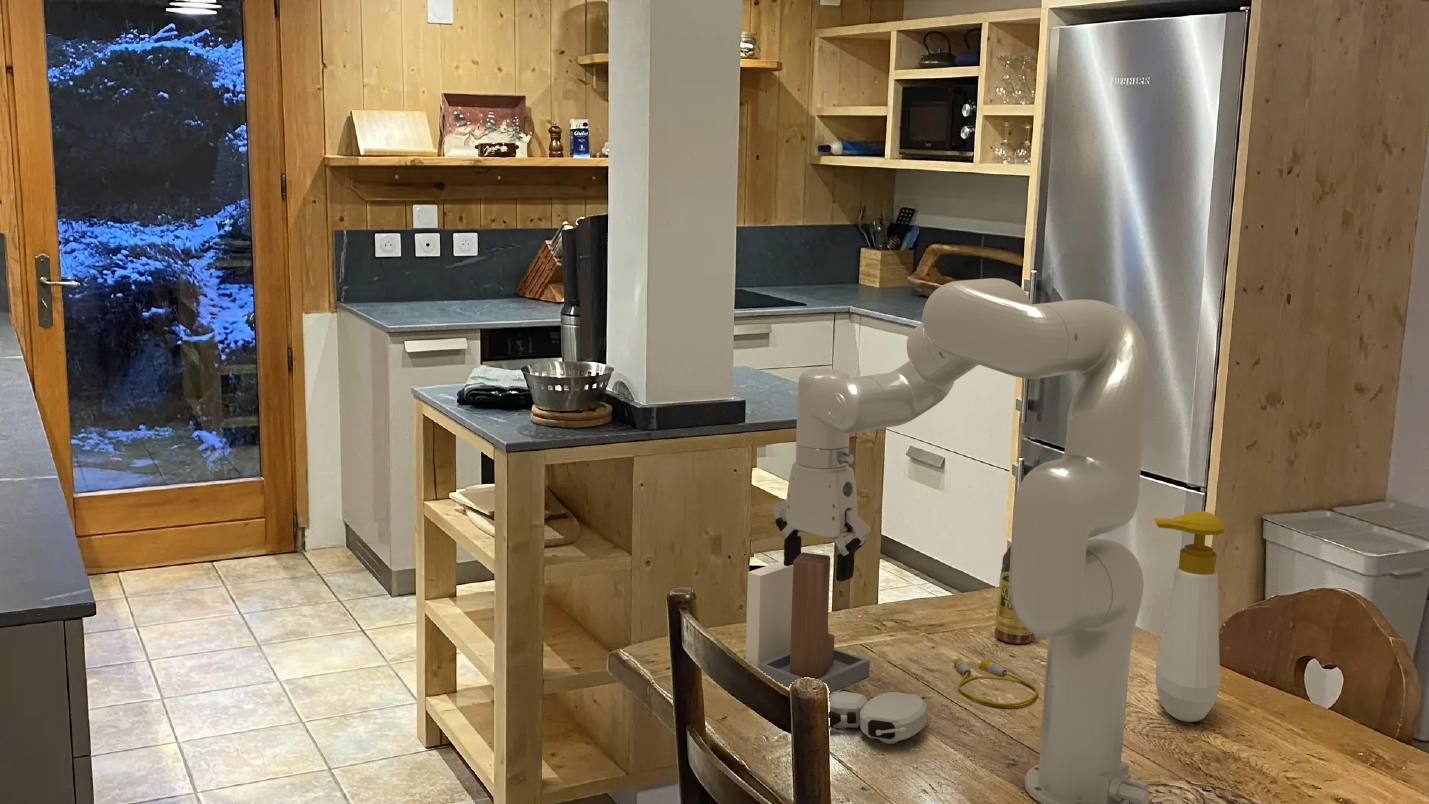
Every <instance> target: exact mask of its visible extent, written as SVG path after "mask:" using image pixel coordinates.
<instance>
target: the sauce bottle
mask: <svg viewBox="0 0 1429 804" xmlns="http://www.w3.org/2000/svg"><path fill="white" fill-rule="evenodd" d="M1010 556H1011V545H1010V546H1009V547H1008V548H1007V550H1006V551H1005V553H1004V554H1003V556H1002V567H1001V569H1000V570H1001V571H1000V573H999V583H998V593H997V594H998V595H997V603H996V612H995V621H994V626H995V629H994V636H995V637H996V638H997V639H998V640H1000V641H1003V642H1005V643H1009V644H1021V645H1022V644H1023V645H1025V644H1028V643H1030V642H1031V641H1032V640H1033V639H1034V634H1033V633H1031V632H1030V631H1028V630H1027V629H1026V628H1025V627H1024V626H1023V625H1022V624H1021V623H1020V621H1019V620H1018V618H1017V616H1016V614H1015V612H1014V610H1013V607H1012V604H1011V599H1010V591H1009V574H1010Z"/></svg>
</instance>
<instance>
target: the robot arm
mask: <svg viewBox="0 0 1429 804" xmlns="http://www.w3.org/2000/svg"><path fill="white" fill-rule="evenodd" d="M921 315H922V318H921V319H922V323H921V324H919V325H918V326H916V327H914V328H913V329H912V330H911V332H910V333H909V335H908V337H907V339H906V353H907V357H908V361H907V362H905V363H904V364H903V365H901V366H899V367H898V368H896V369H894V370H893V371H890V372H886V373H877V374H870V375H869V374H868V375H863V376H856V377H850V376H849V374H848V373H847V372H845V371H842V370H839V369H829V368H814V369H807V370H805V371H804V372H802V373H801V374H800V375H799V377H798V382H797V408H796V412H797V413H796V437H795V438H796V443H795V461H794V462H793V463H792V466H791V469H790V473H789V477H788V485H787V494H786V499H784V500H781V501H779V502H776V503H774V504H772V505H771V511H772V513H773V517H774V518H775V522H774V523H775V525H776V527H777V529H779V531H780V538H781V539H783V542H784V544H783V561H784V565H785V566H791V565H793V561H794V560H795V559H796V558H797V557H798V556H799V555H800V554H801V553H802V536H801V535H799V534H800V533H801V532H802V533H806V534H808V535H809V534H810V535H813V536H818V537H822V538H825V539H829V540H833V541H834V543H835V544H836V547H837V548H838V549H839V550H838V551H839V552H840V553H838V554H837V555H836V568H835V569H836V572H835V580H836V581H837V582H840V583H842V582H845V581H847V580H849V579H852V578H853V576H854V573H855V553H857V552H858V551H859V550H860V549H861V548H862V546H864V545H865V544H866V540H867V539H868V538H869V535H870V533H871V531H872V529H871V527H870V525H869V524H868V523H867V522H866V521H864V520H863V519H862V518H861V517H860V516H859V515H858V496H857V495H858V493H857V485H856V477H855V472H854V470H853V468H852V467H849V464H850V465H851V464H853V463H854V460H855V457H854V455H853V454H851V453H850V436H851V435H850V434H859V433H863V432H864V433H865V432H871V431H875V430H880V429H885V428H893V427H898V426H902V425H905V424H907V423H910V422H912V421H914V420H915V419H917V418H919V416H921V415H923V414H924V413H926V412H927V411H930V410H931V409H932V408H934V407H935V406H937V405H939V404H940V403H941V402H942V401H944V399H946V397H947V396H948V395H949V393H950V392H951V389H952V388H953V386H954V385H955V384H954V383H955V381H957V380H958V379H960V378H962V377H963V376H964V375H966V374H967V373H969V372H970V371H972V370H974V368H976V367H978V366H982V367H985V368H988V369H990V370H994V371H997V372H1000V373H1003V374H1006V375H1008V376H1012V377H1016V378H1020V379H1021V378H1022V379H1029V380H1030V379H1031V380H1032V379H1033V380H1034V379H1044V378H1050V377H1057V376H1063V375H1064V376H1065V375H1068V374H1073V373H1076V374H1078V375H1079V376H1080V381H1079V384H1078V386H1077V389H1076V390H1075V393H1074V395H1073V398H1072V399H1071V400H1072V401H1071V403H1070V405H1069V409H1068V413H1067V421H1066V422H1067V423H1066V424H1067V425H1066V439H1065V447H1064V452H1063V455H1062V457H1061V458H1058V459H1054V460H1049V461H1046V462H1043V463H1040V464H1039V465H1036V466H1035V467H1033V468H1032V469H1031V470H1030V471H1029V472H1028V473H1027V474H1025V476H1024V477H1023V479H1022V480H1021V483H1020V484H1019V486H1018V488H1017V492H1016V495H1015V497H1014V498H1015V499H1014V503H1013V508H1012V509H1013V511H1012V512H1013V513H1012V523H1011V524H1012V525H1011V526H1012V527H1011V539H1010V540H1011V541H1010V542H1011V544H1010V546H1011V556H1010V574H1009V591H1010V599H1011V604H1012V607H1013V610H1014V612H1015V614H1016V616H1017V618H1018V620H1019V621H1020V623H1021V624H1022V625H1023V626H1024V627H1025V628H1026V629H1027V630H1028V631H1030V632H1031V633H1033V635H1036V636H1038V637H1042V638H1049V640H1048V645H1047V653H1046V663H1045V675H1044V676H1045V677H1044V689H1043V705H1042V718H1041V731H1040V734H1041V735H1040V745H1039V746H1040V747H1039V759H1038V760H1039V762H1038V764H1036V765H1034V766H1032V767H1031V768H1029V769H1028V771H1027V772H1026V773H1025V777H1024V788H1025V790H1026V792H1027V793H1028V795H1029V796H1030V797H1031V798H1033V799H1034V800H1035V801H1036V802H1039V803H1040V804H1129V802H1130V804H1149V803H1150V801H1151V792H1150V791H1149V789H1150V784H1149V783H1148V782H1144V781H1141V780H1139V779H1135V778H1132V776H1131V775H1129V772H1130V763H1128V762H1126V761H1123V760H1122V755H1123V744H1124V743H1123V742H1124V731H1125V721H1126V720H1125V719H1126V709H1127V708H1126V706H1127V695H1128V693H1127V692H1128V682H1129V672H1130V662H1131V653H1132V646H1133V639H1134V638H1133V637H1134V633H1135V629H1136V624H1137V620H1138V616H1139V613H1140V608H1141V605H1142V601H1143V595H1144V585H1145V584H1144V583H1145V582H1144V575H1143V571H1142V566H1141V564H1140V562H1139V561H1138V558H1137V557H1136V556H1135V554H1134V553H1133V552H1132V551H1131V550H1130V549H1129V548H1127V547H1126V546H1125V545H1124V544H1121V543H1120V542H1117V541H1114V540H1112V539H1106V538H1105V539H1104V538H1095V539H1094V538H1093V537H1096V536H1100V535H1103V534H1106V533H1107V534H1108V533H1110V532H1112V531H1115V530H1118V529H1120V528H1122V527H1124V526H1125V525H1128V523H1129V522H1130V521H1131V520H1132V519H1133V518H1134V516H1135V514H1136V512H1137V508H1138V504H1139V494H1140V484H1141V483H1140V481H1141V468H1142V458H1143V457H1142V456H1143V441H1144V422H1145V421H1144V419H1145V411H1146V410H1145V409H1146V405H1147V397H1148V391H1149V390H1148V389H1149V381H1150V370H1151V368H1150V366H1151V362H1150V354H1149V348H1148V344H1147V342H1146V339H1145V335H1143V332H1142V331H1141V329H1140V327H1139V326H1138V325H1137V323H1136V322H1135V321H1134V320H1133V318H1132V317H1131V316H1130V315H1128V314H1127V313H1126V312H1124V311H1123V310H1122V309H1121V308H1119V307H1117V306H1115V305H1112V304H1111V303H1108V302H1106V301H1102V300H1101V301H1100V300H1094V299H1069V300H1060V301H1054V302H1042V303H1034V304H1032V302H1031V300H1030V298H1029V296H1028V294H1027V293H1026V292H1025V290H1024V289H1023V288H1022V287H1021V286H1019V285H1017V283H1016V282H1013V281H1010V280H1007V279H1004V278H994V277H993V278H989V277H988V278H979V279H966V280H965V279H964V280H956V281H951V282H950V281H949V282H947V283H945V284H943V285H941V286H939V287H937V288H936V289H935V290H934V291H933V292H932V293H931V294H930V296H929V297H928V299H927V301H926V302H925V304H924V307H923V310H922V314H921ZM853 534H855V536H853ZM1090 538H1091V539H1090ZM1092 538H1093V539H1092Z"/></svg>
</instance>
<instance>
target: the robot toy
mask: <svg viewBox="0 0 1429 804" xmlns="http://www.w3.org/2000/svg"><path fill="white" fill-rule="evenodd" d="M828 695H829V702H830V712H829V718H830V726H829V727H834V728H835V729H836V728H837V729H846V728H858V727H860V730H861V731H862V733H864V735H866V736H867V737H868V738H870V739H871V738H872V739H876V740H877V739H878V740H880V741H881V742H882V743H885V744H887V745H888V744H890V745H891V744H896V743H898V742H900V741H902V740H903V741H904V740H907V739H909V738H911V737H913V736H915V735H916V734H917V733H919V732H921V730H922V729H924V728H925V726H926V724H927V721H928V710H927V706H928V705H927V702H926V701H925V700H927V699H928V700H930V699H931V700H932V699H934V697H935V696H934V695H933V694H929V695H927V696H919V695H918V694H912V693H911V694H910V693H903V692H896V691H890V692H883V693H880V694H877V695H876V696H874V697H873V698H871V699H868V698H866V696H865V695H864V694H860V693H856V692H854V691H852V690H849V689H844V688H842V689H839V690H837V691H835V692H832V693H830V694H828Z"/></svg>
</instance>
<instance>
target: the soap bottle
mask: <svg viewBox="0 0 1429 804" xmlns="http://www.w3.org/2000/svg"><path fill="white" fill-rule="evenodd" d="M1153 520H1154V522H1155V524H1156V525H1157V527H1158V529H1159V528H1160V529H1172V530H1176V531H1182V532H1184V533H1189V534H1193V535H1194V537H1193V543H1188V544H1185V545H1184V547H1183V548H1180V551H1179V562H1178V566H1176V568H1175V572H1174V577H1173V581H1172V587H1171V589H1170V590H1171V591H1170V596H1169V600H1168V605H1167V608H1166V609H1167V610H1166V616H1165V620H1164V625H1163V630H1162V635H1161V638H1160V644H1159V648H1158V654H1157V659H1156V666H1155V686H1156V690H1157V696H1158V698H1159V701H1160V703H1161V705H1162V707H1163V709H1164V711H1165V712H1167V713H1168V715H1170V716H1171V717H1173V718H1175V719H1176V720H1177V721H1178V720H1179V721H1181V722H1186V723H1194V722H1199V721H1201V720H1203V719H1204V718H1205V717H1206V716H1207V715H1208V714H1209V712H1211V710H1212V709H1213V707H1214V705H1215V703H1216V701H1217V697H1218V695H1219V691H1220V690H1219V689H1220V681H1221V675H1220V674H1221V673H1220V671H1221V669H1220V633H1219V632H1220V629H1219V627H1220V625H1219V623H1220V622H1219V573H1218V571H1217V570H1216V565H1217V553H1216V552H1215V551H1214V548H1212V546H1209V545H1206V536H1218V535H1222V534H1224V532H1225V527H1226V526H1225V524H1224V523H1223V521H1222V520H1221V519H1220V518H1219V517H1217V516H1216V515H1215V514H1213V513H1210V512H1209V511H1206V510H1195V511H1190V512H1187V513H1184V514H1181V515H1179V516H1178V515H1177V516H1175V517H1171V518H1165V517H1162V518H1161V517H1160V518H1159V517H1153Z"/></svg>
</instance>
